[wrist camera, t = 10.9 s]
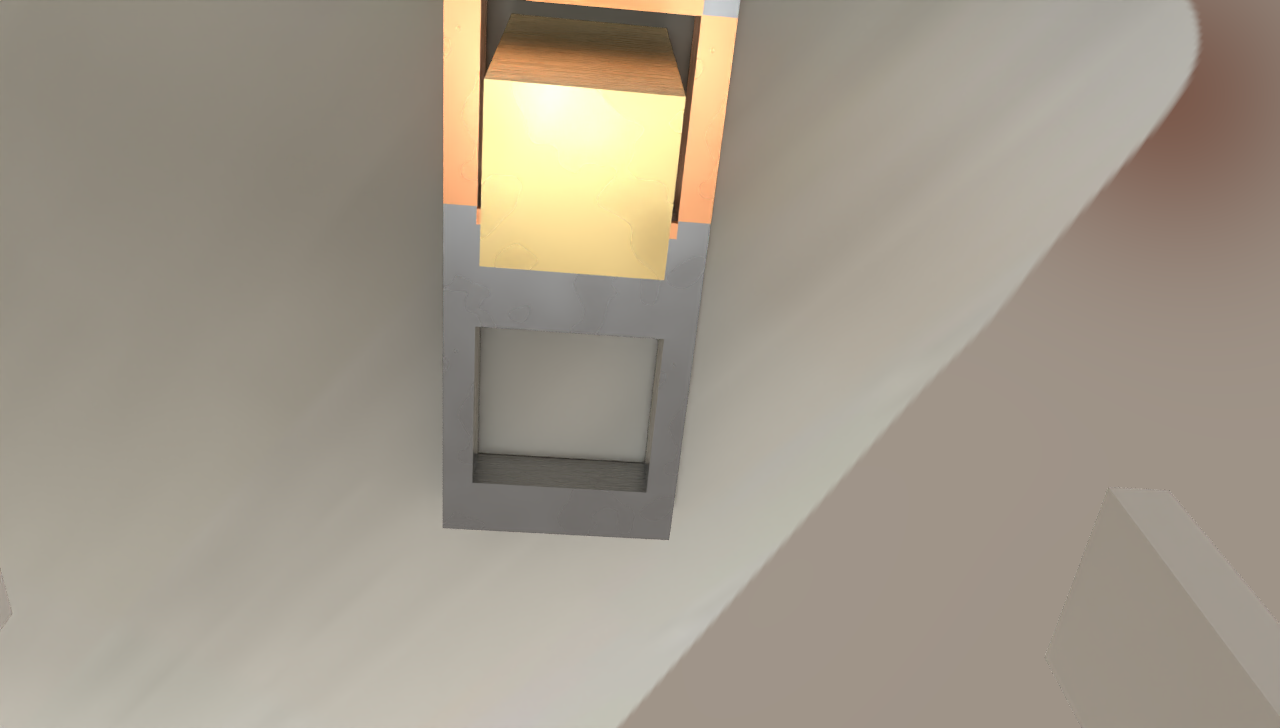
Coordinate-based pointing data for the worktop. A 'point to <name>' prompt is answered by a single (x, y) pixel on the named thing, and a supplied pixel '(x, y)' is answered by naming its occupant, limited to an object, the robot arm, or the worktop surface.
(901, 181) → the worktop surface
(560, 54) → the block
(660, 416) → the grey slotted board
